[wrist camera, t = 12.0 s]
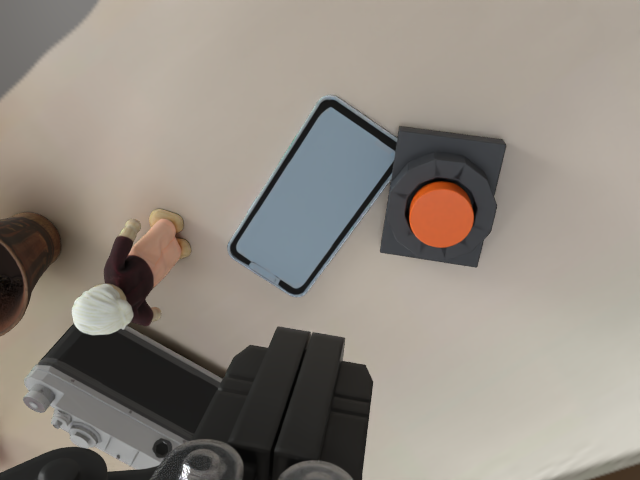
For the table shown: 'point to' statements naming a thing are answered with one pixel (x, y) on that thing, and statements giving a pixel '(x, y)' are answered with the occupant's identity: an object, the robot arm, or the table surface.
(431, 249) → the button block
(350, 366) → the robot arm
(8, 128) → the table surface
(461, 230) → the button
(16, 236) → the cup
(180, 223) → the grandmother figurine
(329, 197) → the smartphone
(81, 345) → the camera
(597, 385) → the table surface
